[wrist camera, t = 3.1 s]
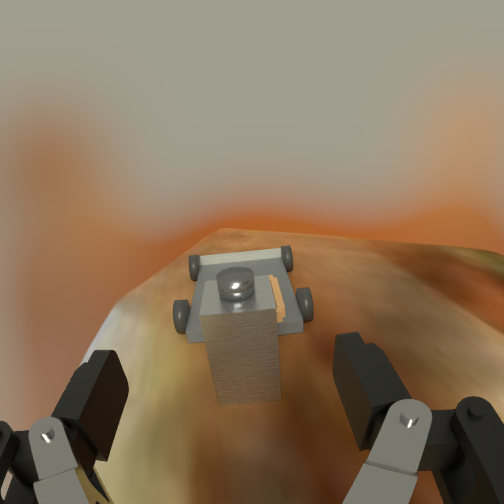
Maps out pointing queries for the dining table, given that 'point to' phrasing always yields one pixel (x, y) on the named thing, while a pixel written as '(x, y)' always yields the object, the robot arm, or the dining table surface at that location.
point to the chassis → (261, 263)
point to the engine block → (241, 337)
